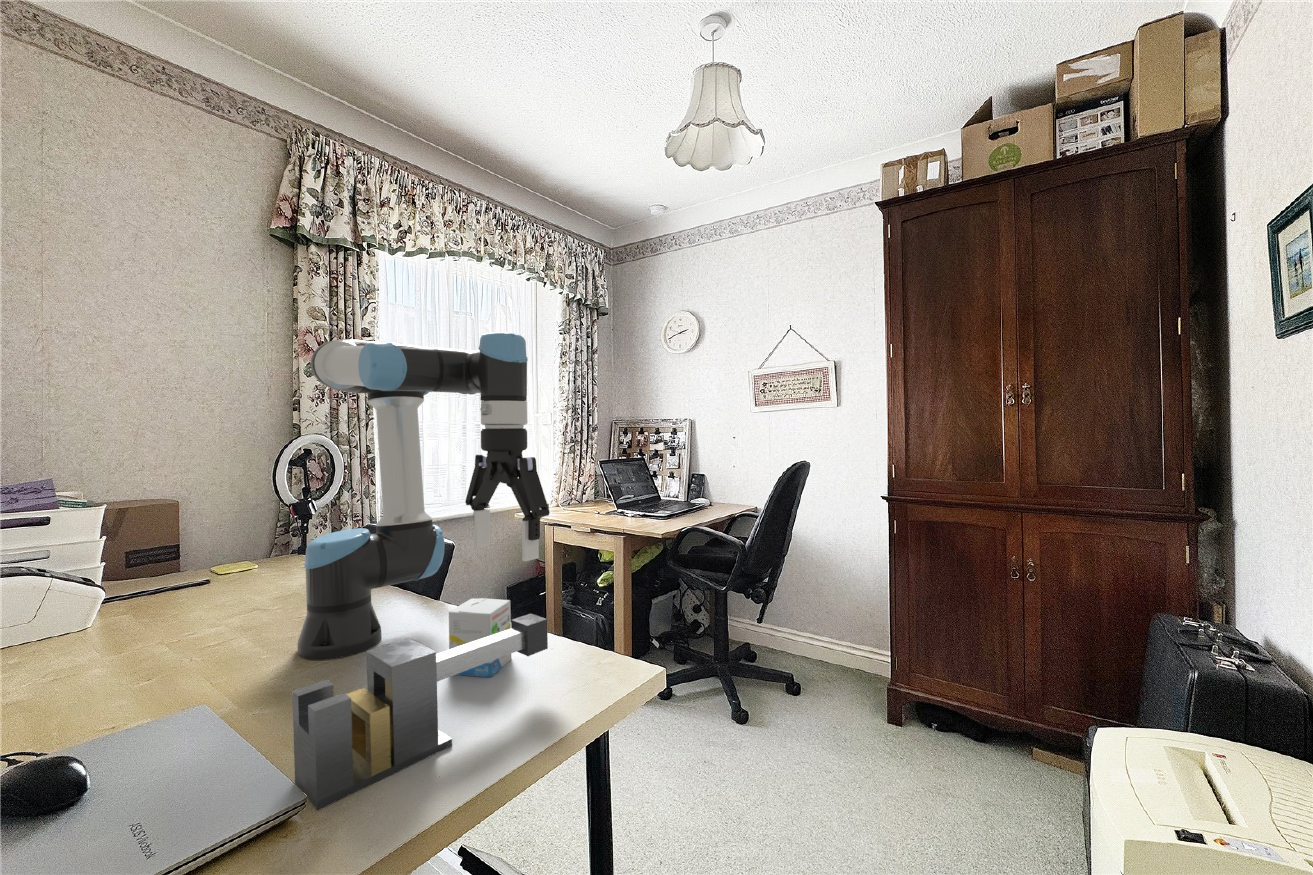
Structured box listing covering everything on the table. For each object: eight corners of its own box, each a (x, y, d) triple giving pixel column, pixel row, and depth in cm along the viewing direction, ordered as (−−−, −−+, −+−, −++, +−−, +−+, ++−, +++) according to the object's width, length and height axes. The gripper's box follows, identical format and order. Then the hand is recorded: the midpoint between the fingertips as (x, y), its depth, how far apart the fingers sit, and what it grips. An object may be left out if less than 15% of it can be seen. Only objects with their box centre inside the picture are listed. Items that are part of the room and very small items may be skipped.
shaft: (387, 695, 77) (386, 660, 77) (531, 642, 96) (530, 613, 96) (401, 706, 74) (400, 669, 74) (547, 648, 93) (547, 619, 93)
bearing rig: (295, 782, 70) (291, 673, 70) (424, 726, 83) (422, 633, 83) (317, 810, 65) (314, 692, 65) (452, 745, 78) (449, 647, 78)
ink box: (491, 678, 99) (489, 613, 99) (448, 674, 101) (446, 611, 100) (512, 658, 107) (511, 598, 107) (472, 655, 109) (471, 596, 109)
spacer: (346, 753, 75) (344, 694, 75) (364, 745, 77) (362, 688, 76) (371, 776, 70) (370, 713, 69) (390, 767, 72) (389, 706, 71)
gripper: (444, 426, 97) (445, 545, 98) (532, 428, 82) (533, 570, 82) (481, 425, 103) (482, 538, 104) (571, 427, 87) (571, 560, 88)
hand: (505, 553), depth 93 cm, fingers open, 13 cm apart
